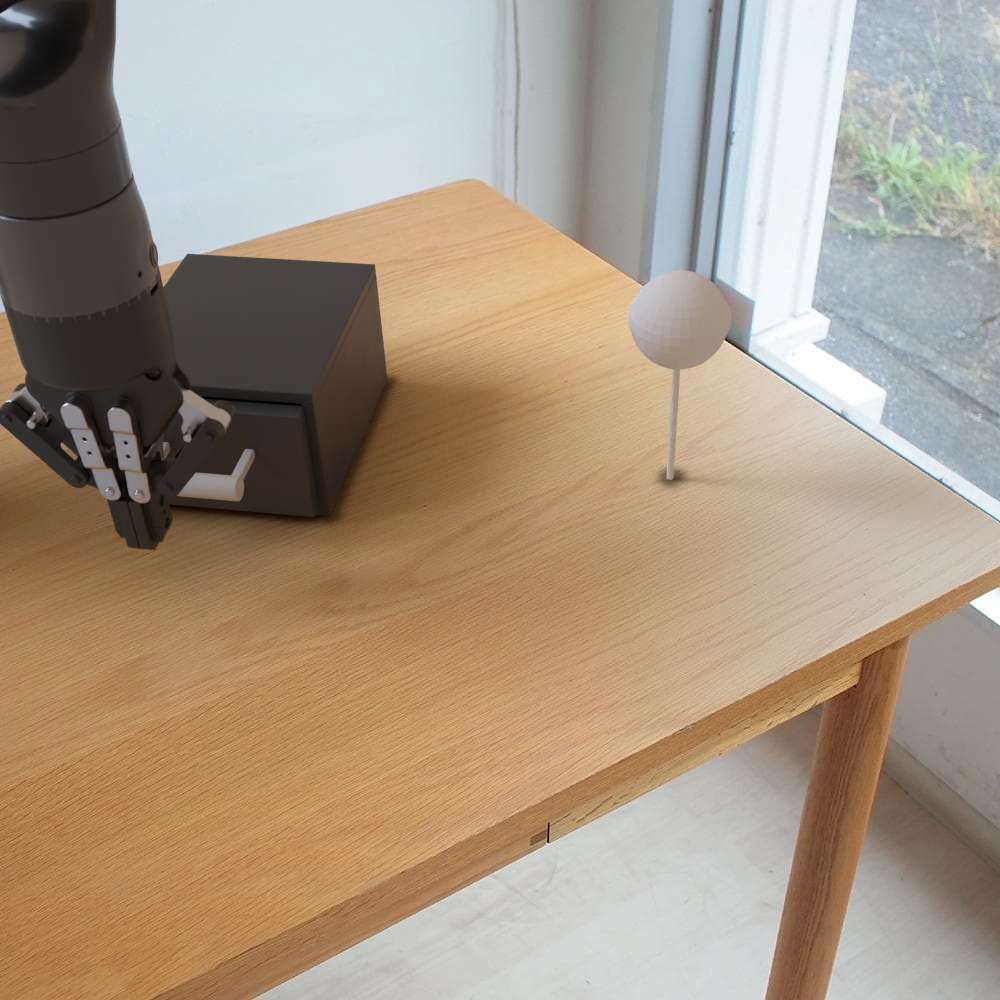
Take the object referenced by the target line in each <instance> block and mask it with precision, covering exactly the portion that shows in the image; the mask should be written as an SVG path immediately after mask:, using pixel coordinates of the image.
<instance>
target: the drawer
mask: <svg viewBox="0 0 1000 1000" xmlns="http://www.w3.org/2000/svg"><path fill="white" fill-rule="evenodd" d="M204 400H206V401H207V402H209V403H210V404H212V405H214V403H215V402H217V401H219V400H211V399H204ZM224 401H225V400H224ZM227 402H229V403H231V404H232V405H233V406H234V408H235V411H236V413H235V416H234V417H233V419H232V421H231V423H230V425H229V427H228V429H227V430H226V432H225V434H224V436H223V437H222V439H221V441H220V443H219V444H218V445H217V447H216V448H215V449H214V450H213V452H212V453H211V454H210V455H209V457H208V458H207V459H206V460H205V462H204V463H203V464H202V465H201V467H200V468H199V469H198V470H197V472H196V473H195V474H194V475H193V477H192V478H191V479H190V480H189V482H188V483H187V484H186V485H185V487H184V488H183V489H182V490H181V492H180V493H179V494H178V495H177V496H176V497H168V502H169V505H172V506H185V507H193V508H194V507H196V508H208V509H216V510H217V509H218V510H230V511H240V512H251V513H263V514H275V515H287V516H298V517H310V518H315V517H316V515H315V514H316V512H317V510H318V508H319V500H318V493H317V487H316V481H315V475H314V468H313V462H312V456H311V450H310V443H309V437H308V431H307V425H306V418H305V412H304V407H303V406H301V404H296V403H284V404H285V405H278V404H265V403H251V402H238V401H227ZM182 423H183V418H182V416H181V415H180V413H179V412H177V413H176V415H175V416H174V418H173V419H172V421H171V422H170V424H169V425H168V427H167V428H166V430H165V438H164V442H163V451H164V458H165V460H166V459H171V458H173V457H174V455H175V454H176V453H177V451H178V450H179V449H180V447H181V446H182V445H183V444H184V442H185V441H184V440H183V436H184V434H183V433H182V430H181V425H182Z"/></svg>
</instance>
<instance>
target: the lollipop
mask: <svg viewBox="0 0 1000 1000" xmlns="http://www.w3.org/2000/svg"><path fill="white" fill-rule="evenodd" d="M732 318H733V317H732V311H731V307H730V306H729V303H728V302H727V299H726V298H725V296H724V294H723V293H722V292H721V289H720V288H719V287H718V286H717V285H716V284H715V283H714V282H713V281H712V280H710V279H709V278H707V277H706V276H704V275H702V274H700V273H698V272H695V271H691V270H682V269H680V270H679V269H677V270H669V271H666V272H664V273H661V274H658V275H656V276H655V277H653V278H651V279H650V280H649V281H648V282H647V283H646V284H645V285H643V286H642V288H641V289H640V290H639V292H638V293H637V294H636V296H635V297H634V299H633V300H632V301H631V303H630V304H629V308H628V312H627V319H626V320H627V324H628V327H629V329H630V332H631V335H632V339H633V341H634V343H635V345H636V347H637V349H638V350H639V352H641V353H642V354H643V356H644V357H646V358H647V360H649V361H650V362H652V363H653V364H655V365H657V366H659V367H662V368H665V369H670V370H672V374H671V375H672V376H671V378H672V379H671V391H670V410H669V426H668V428H669V429H668V443H667V445H668V446H667V460H666V461H667V463H666V480H669V481H673V480H674V477H675V476H674V475H675V474H674V473H675V460H676V445H677V428H678V411H679V397H680V396H679V395H680V394H679V393H680V379H681V378H680V377H681V370H688V369H692V368H695V367H698V366H700V365H702V364H704V363H706V362H707V361H709V360H710V359H711V358H713V357H714V356H715V355H716V353H717V352H718V351H719V350H720V349H721V348H722V345H723V344H724V342H725V340H726V337H727V335H728V333H729V332H730V330H731V328H732V323H733V322H732V321H733V320H732Z"/></svg>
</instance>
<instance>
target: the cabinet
mask: <svg viewBox="0 0 1000 1000" xmlns="http://www.w3.org/2000/svg"><path fill="white" fill-rule="evenodd" d="M163 288H164V293H165V297H166V302H167V306H168V311H169V316H170V320H171V325H172V329H173V336H174V350H175V356H176V359H177V361H178V363H179V364H180V366H181V367H182V368H183V370H184V371H185V372H186V373H187V375H188V377H189V379H190V384H191V388H190V390H191V391H192V392H194V393H195V394H197V395H198V396H202V397H216V398H229V399H243V400H256V401H269V402H283V403H296V404H301V406H303V407H304V412H305V418H306V425H307V431H308V437H309V443H310V450H311V456H312V462H313V468H314V475H315V481H316V487H317V493H318V500H319V508H318V510H317V512H316V514H315V516H321V517H331V516H332V513H333V511H334V508H335V506H336V503H337V501H338V499H339V496H340V494H341V492H342V489H343V487H344V485H345V482H346V480H347V478H348V476H349V473H350V470H351V468H352V465H353V463H354V461H355V458H356V456H357V454H358V451H359V449H360V446H361V445H362V441H363V440H364V437H365V434H366V432H367V429H368V428H369V425H370V422H371V421H372V418H373V415H374V413H375V411H376V409H377V406H378V403H379V401H380V398H381V396H382V393H383V391H384V390H385V386H386V384H387V382H388V372H387V371H388V370H387V362H386V353H385V351H386V350H385V343H384V335H383V325H382V324H383V323H382V316H381V307H380V298H379V289H378V288H379V287H378V278H377V271H376V264H374V263H360V262H343V261H323V260H305V259H287V258H271V257H270V258H269V257H253V256H252V257H251V256H236V255H235V256H234V255H219V254H217V255H216V254H200V253H199V254H198V253H187V254H186V255H185V256H184V258H182V260H181V262H180V263H179V265H178V266H177V267H176V269H175V271H174V272H173V273H172V274H171V276H170V277H169V279H168V280H167V281H166V283H165V284H164V285H163Z"/></svg>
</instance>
